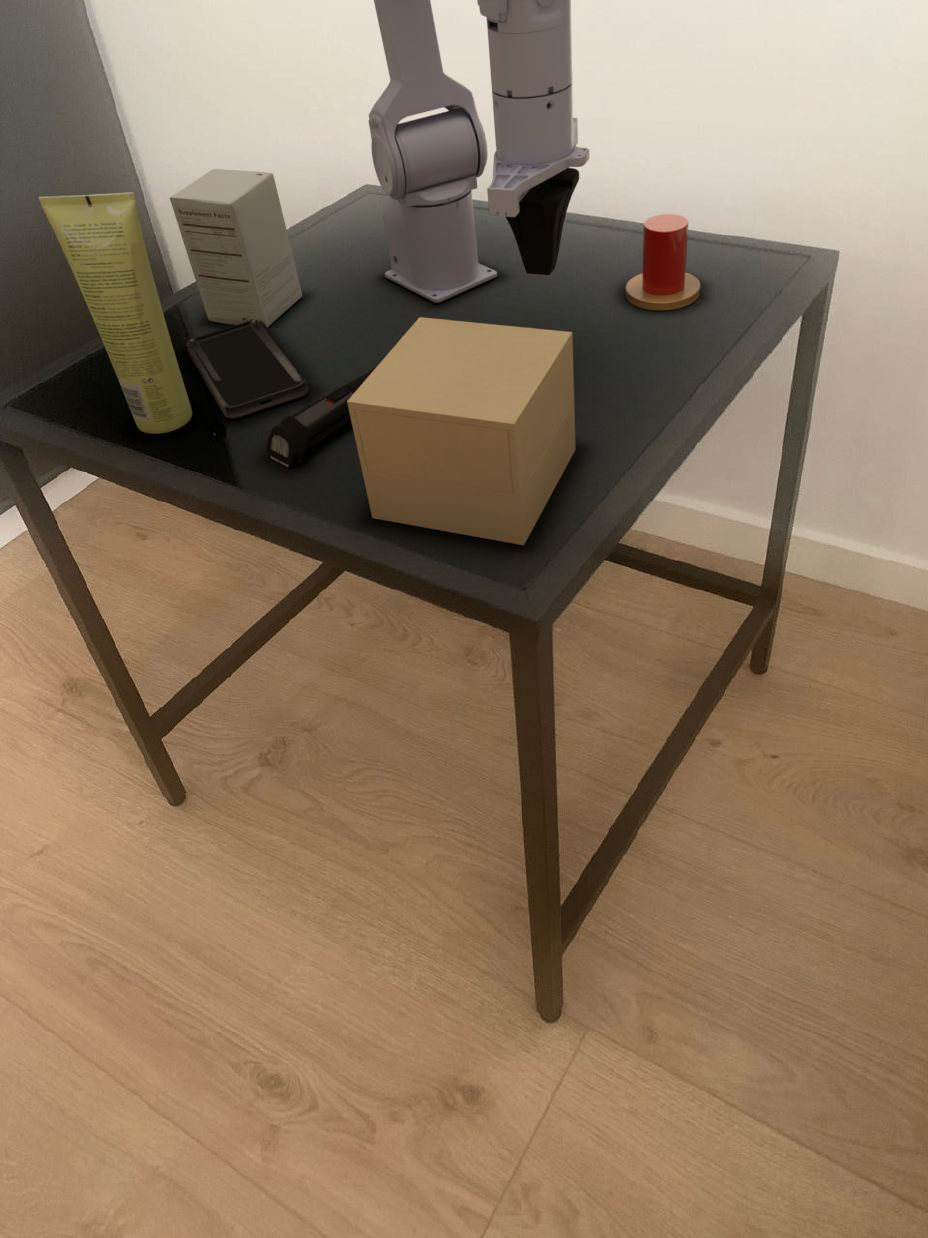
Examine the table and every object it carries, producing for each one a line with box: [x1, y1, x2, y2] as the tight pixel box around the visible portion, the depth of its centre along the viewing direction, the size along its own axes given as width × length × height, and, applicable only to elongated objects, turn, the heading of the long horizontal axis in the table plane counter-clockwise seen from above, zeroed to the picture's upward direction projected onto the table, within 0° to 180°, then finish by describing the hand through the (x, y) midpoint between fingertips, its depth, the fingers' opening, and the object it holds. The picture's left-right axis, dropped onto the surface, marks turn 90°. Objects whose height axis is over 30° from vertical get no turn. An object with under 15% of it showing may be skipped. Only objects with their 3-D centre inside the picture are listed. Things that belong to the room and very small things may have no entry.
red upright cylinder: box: [641, 213, 689, 295], centre depth 89 cm, size 4×4×6 cm
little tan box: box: [347, 316, 577, 546], centre depth 69 cm, size 12×12×10 cm
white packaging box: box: [169, 168, 303, 329], centre depth 94 cm, size 7×7×13 cm
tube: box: [38, 191, 193, 435], centre depth 77 cm, size 6×5×20 cm
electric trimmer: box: [266, 366, 377, 468], centre depth 80 cm, size 4×16×3 cm, turn 137°
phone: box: [185, 320, 309, 420], centre depth 88 cm, size 8×1×15 cm
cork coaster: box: [625, 271, 701, 312], centre depth 91 cm, size 7×7×1 cm
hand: (540, 270), depth 77 cm, fingers closed
